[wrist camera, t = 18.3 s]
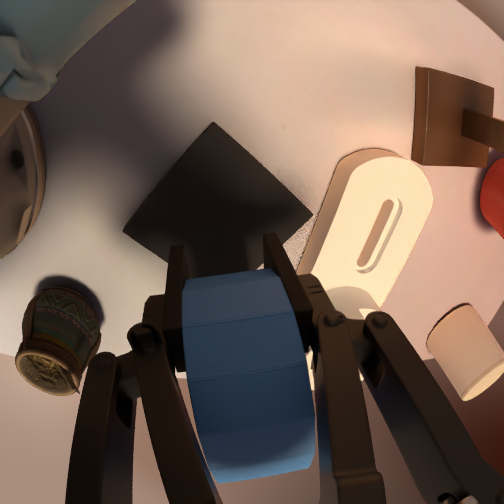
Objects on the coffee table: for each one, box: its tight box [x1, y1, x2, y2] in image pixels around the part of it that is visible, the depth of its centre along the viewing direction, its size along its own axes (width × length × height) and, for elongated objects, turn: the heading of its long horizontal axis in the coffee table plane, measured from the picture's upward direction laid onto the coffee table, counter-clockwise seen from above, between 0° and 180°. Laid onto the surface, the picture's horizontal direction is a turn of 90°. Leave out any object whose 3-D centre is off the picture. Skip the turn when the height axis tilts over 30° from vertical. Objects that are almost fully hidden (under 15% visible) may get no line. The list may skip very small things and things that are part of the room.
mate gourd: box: [15, 287, 101, 396], centre depth 20 cm, size 7×8×10 cm
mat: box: [123, 122, 313, 279], centre depth 22 cm, size 10×10×1 cm
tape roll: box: [182, 268, 315, 483], centre depth 15 cm, size 4×11×11 cm
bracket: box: [296, 149, 433, 390], centre depth 23 cm, size 20×9×7 cm, turn 164°
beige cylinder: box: [427, 305, 504, 401], centre depth 32 cm, size 11×9×10 cm
